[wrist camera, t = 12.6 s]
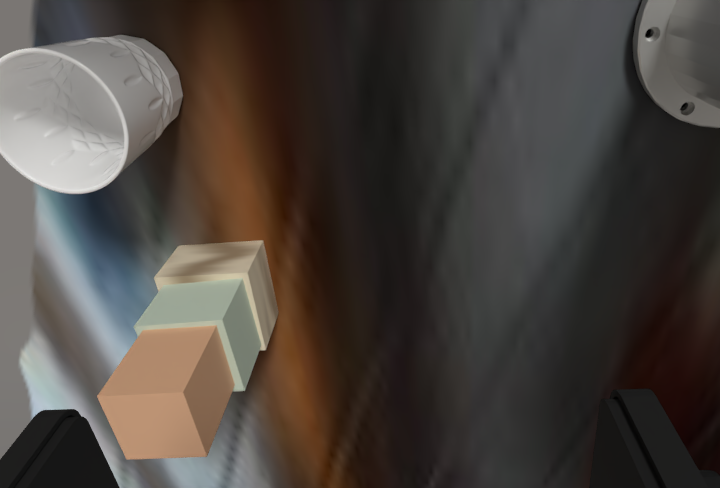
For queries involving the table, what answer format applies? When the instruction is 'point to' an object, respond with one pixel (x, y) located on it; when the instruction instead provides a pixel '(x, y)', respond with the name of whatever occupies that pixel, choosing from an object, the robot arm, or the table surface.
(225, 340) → the sage top block
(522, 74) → the table surface
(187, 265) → the beech base block
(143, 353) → the terracotta block
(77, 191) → the white cup
